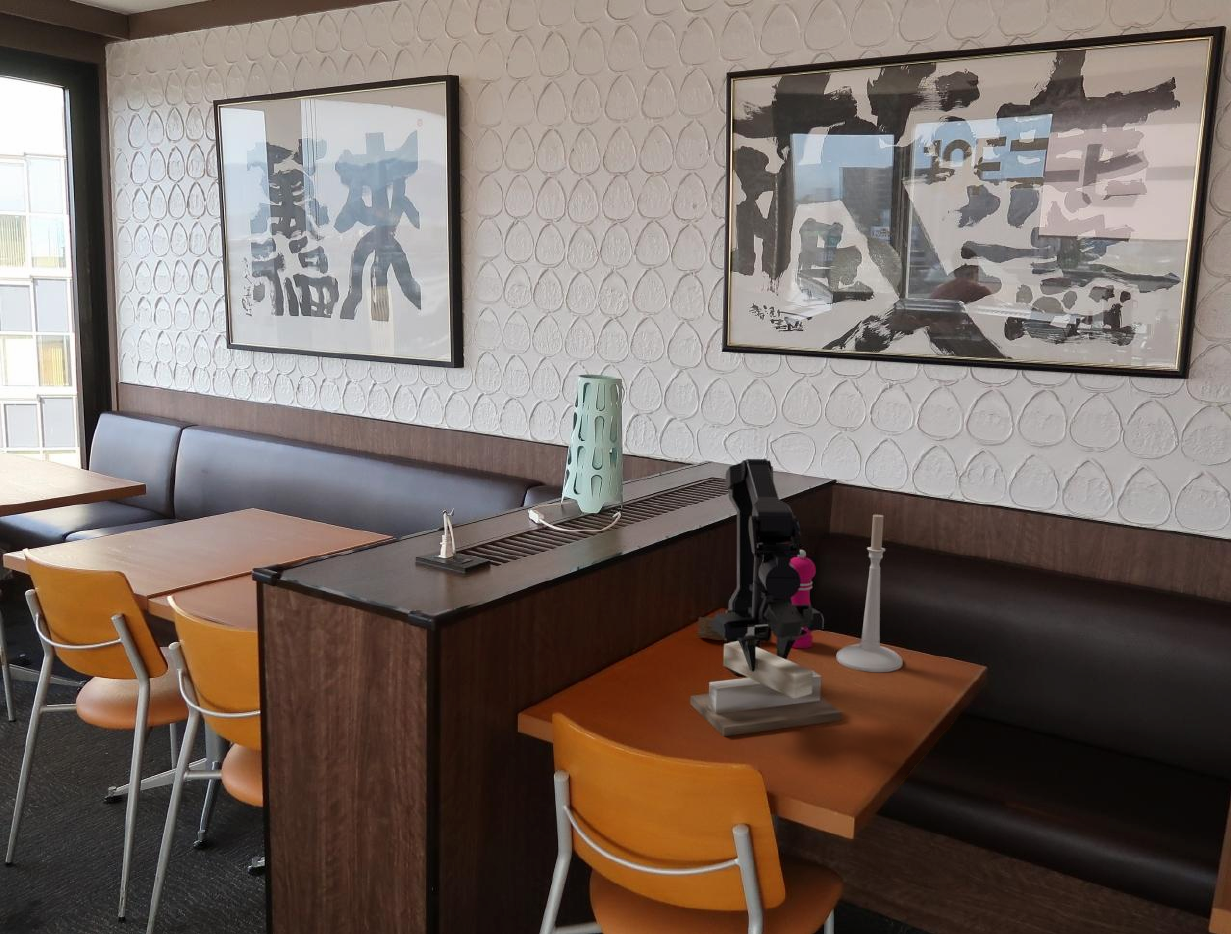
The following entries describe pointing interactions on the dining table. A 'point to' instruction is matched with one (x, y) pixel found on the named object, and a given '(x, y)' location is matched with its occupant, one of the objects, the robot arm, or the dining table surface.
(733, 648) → the cream beige bar
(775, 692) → the ridge stand
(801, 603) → the pepper mill
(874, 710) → the dining table surface
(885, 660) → the candlestick
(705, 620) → the wood plank
